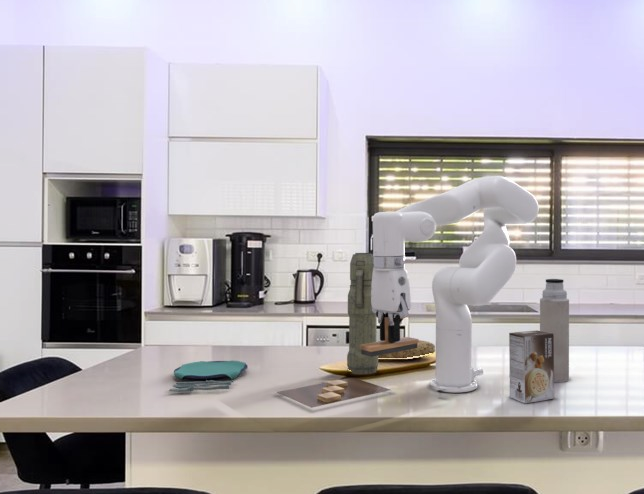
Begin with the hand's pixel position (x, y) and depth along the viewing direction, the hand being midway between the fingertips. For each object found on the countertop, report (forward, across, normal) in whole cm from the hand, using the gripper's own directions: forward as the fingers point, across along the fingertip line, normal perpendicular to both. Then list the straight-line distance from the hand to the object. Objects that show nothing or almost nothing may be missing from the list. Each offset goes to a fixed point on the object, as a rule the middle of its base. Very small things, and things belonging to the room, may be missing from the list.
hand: (390, 340), depth 132 cm
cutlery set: (+14, +50, +25) cm, 58 cm away
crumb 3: (+14, +8, +12) cm, 20 cm away
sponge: (+16, +35, -33) cm, 51 cm away
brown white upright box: (+16, -20, -28) cm, 38 cm away
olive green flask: (+15, +27, -11) cm, 33 cm away
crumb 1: (+14, +18, +4) cm, 23 cm away
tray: (+15, +14, +7) cm, 21 cm away
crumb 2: (+14, +13, +8) cm, 20 cm away
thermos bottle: (+16, -12, -49) cm, 53 cm away
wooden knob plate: (+3, 0, 0) cm, 3 cm away
